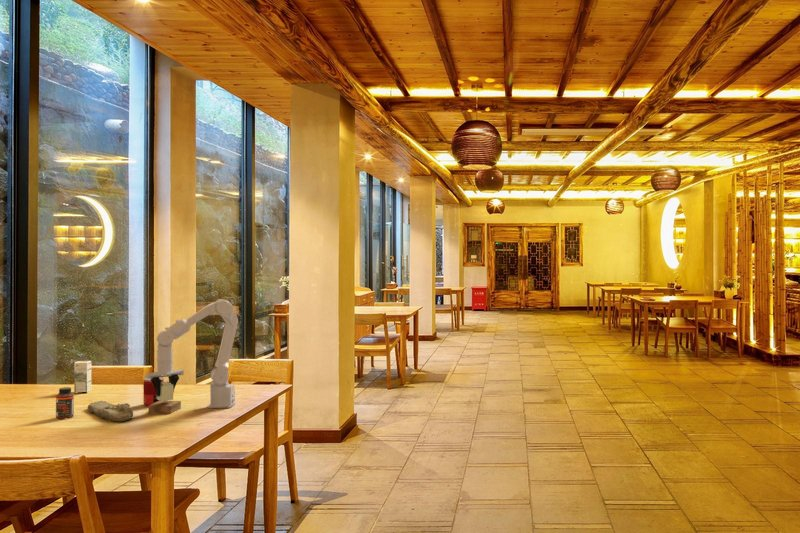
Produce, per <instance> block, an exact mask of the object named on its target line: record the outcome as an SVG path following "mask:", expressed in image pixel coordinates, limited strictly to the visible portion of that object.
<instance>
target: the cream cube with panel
mask: <svg viewBox="0 0 800 533" xmlns="http://www.w3.org/2000/svg"><path fill="white" fill-rule="evenodd" d="M157 400H160V401H174V393H173V384H171V382H169V380H167V381H164V382H161V386H160V396H157Z"/></svg>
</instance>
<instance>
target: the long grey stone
mask: <svg viewBox="0 0 800 533" xmlns="http://www.w3.org/2000/svg"><path fill="white" fill-rule="evenodd" d="M130 405H131V404H130V403H129V402H125V403H118V404H112V403H110V402H107V401H104V400H98V401H94V402H91V403H89V404H88V405H87V410H88V411H89V412H90V413H92V414H95V416H97V417H100V418H101V419H104V420H107V421H109V422H125V421H131V418H133V417H134V411H133V409H132V408H131V406H130Z"/></svg>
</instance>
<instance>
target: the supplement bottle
mask: <svg viewBox="0 0 800 533" xmlns="http://www.w3.org/2000/svg"><path fill="white" fill-rule="evenodd" d="M74 395H75V393H73V392H72V388H71V387H68V386H67V387H60V388H59V389H58V393H57V394H56V396H55V418H56V419H58V420H66V419H65V418H68V419H71V418H73V417H74V413H75V412H74V409H75V408H74V405H75V404H74V402H75V400H74V399H75V398H74V397H75V396H74Z"/></svg>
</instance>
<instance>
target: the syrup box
mask: <svg viewBox="0 0 800 533" xmlns="http://www.w3.org/2000/svg"><path fill="white" fill-rule="evenodd" d="M73 364H74V367H73V368H74V371H73V373H74V379H73V380H74V387H73V388H74V389H73V390H74V391H73V392H88V391H90V390H91V391H92V360H77V361H75V362H73ZM91 391H90V392H91ZM88 393H89V392H88Z"/></svg>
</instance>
